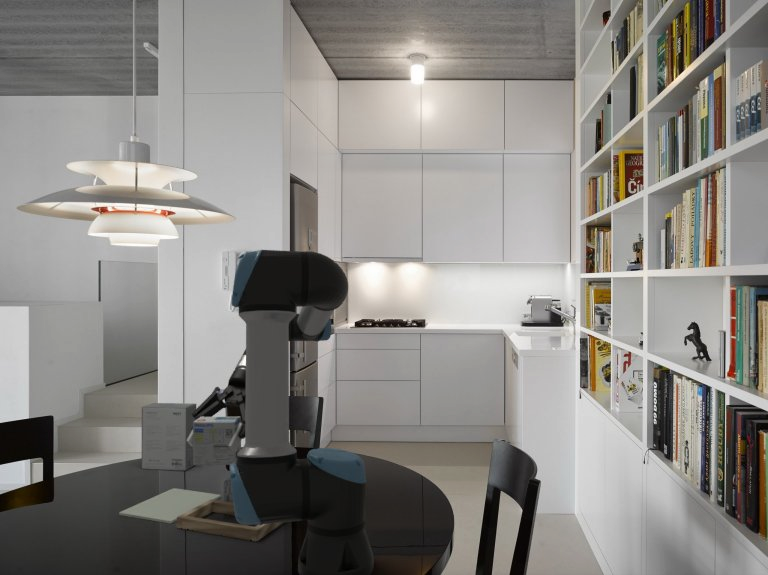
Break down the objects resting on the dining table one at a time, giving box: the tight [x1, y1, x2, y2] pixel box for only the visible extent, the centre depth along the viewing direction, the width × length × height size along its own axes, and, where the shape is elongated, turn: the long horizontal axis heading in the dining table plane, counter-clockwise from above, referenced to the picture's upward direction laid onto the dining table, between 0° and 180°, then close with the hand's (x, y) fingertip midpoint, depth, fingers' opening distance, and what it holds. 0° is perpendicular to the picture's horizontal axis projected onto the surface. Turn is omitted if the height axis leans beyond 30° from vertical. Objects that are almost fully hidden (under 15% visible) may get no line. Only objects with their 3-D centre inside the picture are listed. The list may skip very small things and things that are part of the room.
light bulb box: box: [193, 415, 242, 466], centre depth 145 cm, size 11×7×11 cm, turn 91°
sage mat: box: [118, 487, 222, 524], centre depth 151 cm, size 20×16×1 cm
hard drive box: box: [141, 402, 197, 472], centre depth 187 cm, size 16×8×20 cm, turn 82°
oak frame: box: [176, 499, 285, 542], centre depth 139 cm, size 13×22×2 cm, turn 70°
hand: (210, 446), depth 143 cm, fingers closed on light bulb box, 12 cm apart
